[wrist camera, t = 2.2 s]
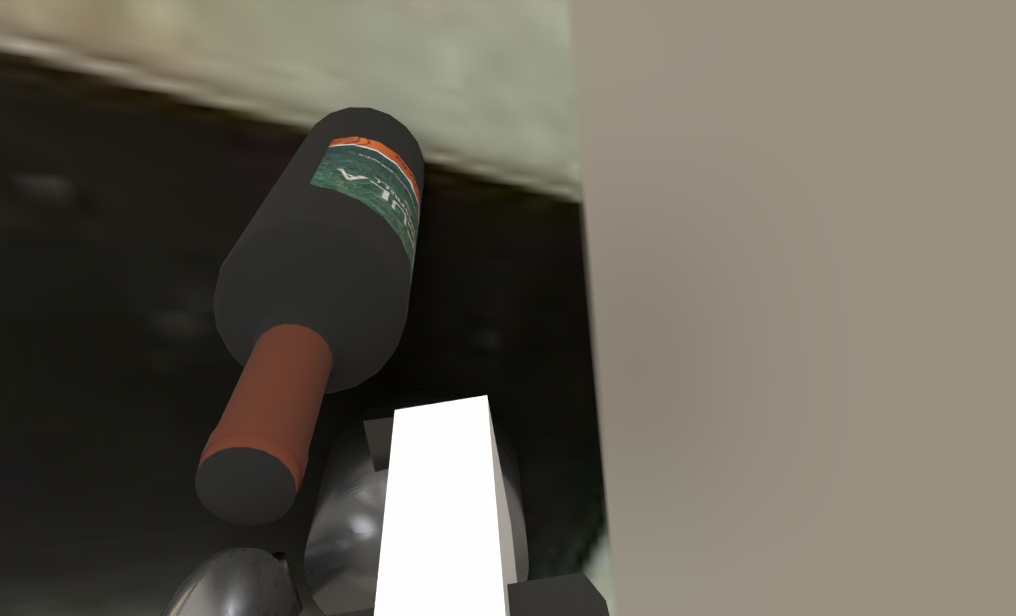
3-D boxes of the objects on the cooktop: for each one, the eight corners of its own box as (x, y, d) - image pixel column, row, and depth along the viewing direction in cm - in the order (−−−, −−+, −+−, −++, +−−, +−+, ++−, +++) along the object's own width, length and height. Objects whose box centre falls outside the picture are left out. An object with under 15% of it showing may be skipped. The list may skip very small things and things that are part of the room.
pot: (357, 586, 64) (341, 697, 55) (295, 358, 55) (264, 447, 46) (532, 564, 64) (544, 671, 55) (500, 332, 55) (509, 416, 46)
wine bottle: (285, 116, 47) (58, 390, 20) (412, 98, 47) (352, 350, 20) (315, 235, 51) (154, 604, 24) (434, 218, 51) (407, 569, 24)
